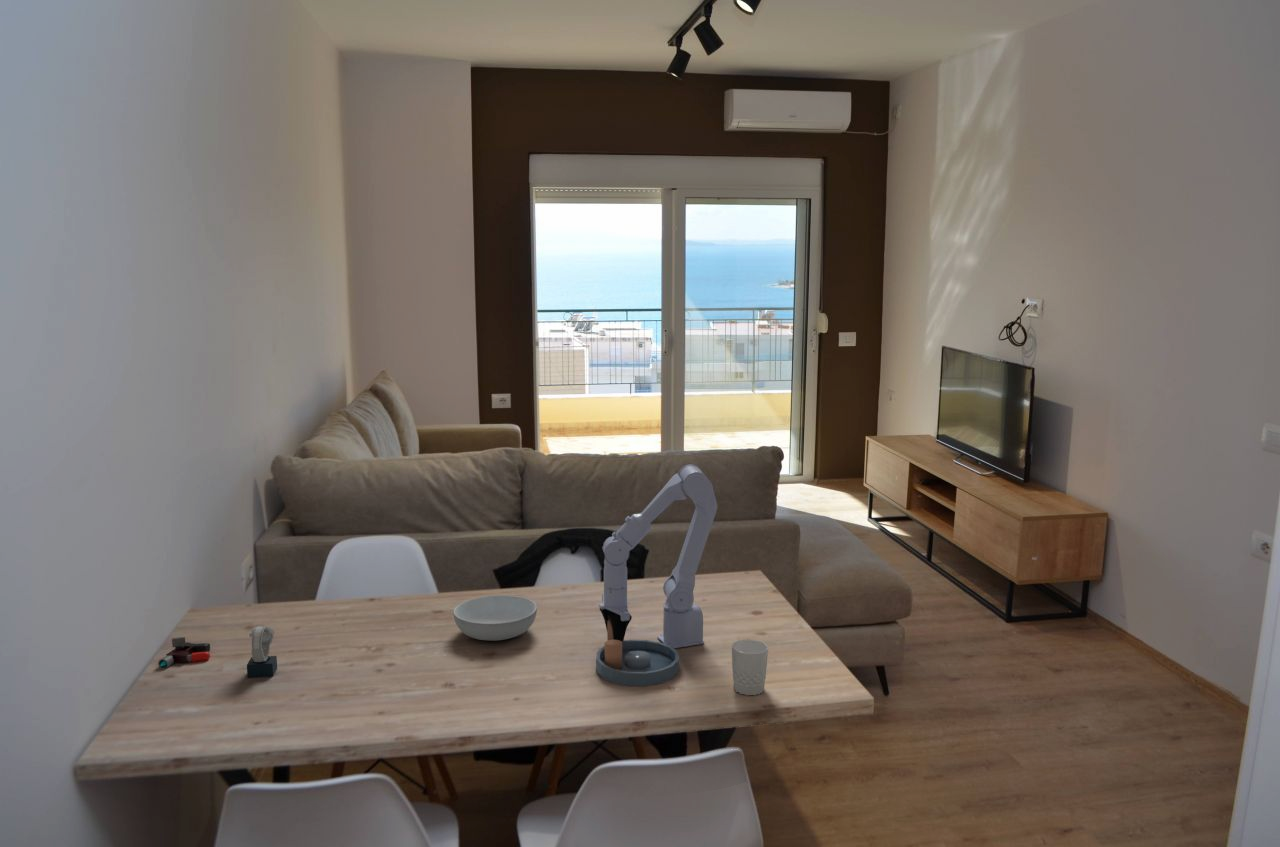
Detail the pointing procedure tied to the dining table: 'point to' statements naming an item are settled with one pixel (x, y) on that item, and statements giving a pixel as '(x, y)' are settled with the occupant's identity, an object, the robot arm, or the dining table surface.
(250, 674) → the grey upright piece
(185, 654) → the toy gun
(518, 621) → the serving bowl
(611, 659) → the tan wooden cylinder
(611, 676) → the ring tray
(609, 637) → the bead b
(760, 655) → the grey cup
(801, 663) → the dining table surface
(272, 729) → the dining table surface
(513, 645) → the dining table surface
